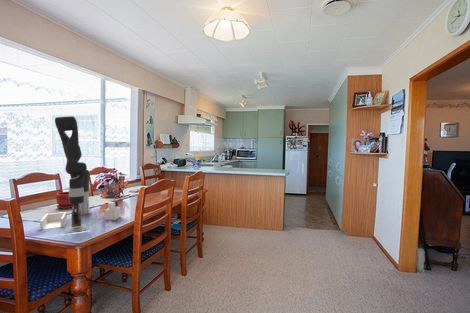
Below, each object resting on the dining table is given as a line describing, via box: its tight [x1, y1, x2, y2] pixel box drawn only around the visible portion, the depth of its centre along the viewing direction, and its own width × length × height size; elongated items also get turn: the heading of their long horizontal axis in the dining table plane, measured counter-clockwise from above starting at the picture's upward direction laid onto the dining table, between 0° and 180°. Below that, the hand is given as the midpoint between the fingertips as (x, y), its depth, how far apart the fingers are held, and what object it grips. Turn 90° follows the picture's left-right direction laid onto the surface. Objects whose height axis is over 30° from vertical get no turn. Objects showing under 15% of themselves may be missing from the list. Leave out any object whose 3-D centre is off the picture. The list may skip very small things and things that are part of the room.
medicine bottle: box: [104, 200, 121, 221], centre depth 161 cm, size 7×7×12 cm
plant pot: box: [56, 191, 74, 209], centre depth 186 cm, size 13×13×12 cm
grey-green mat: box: [65, 223, 88, 234], centre depth 139 cm, size 10×10×1 cm
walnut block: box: [71, 209, 82, 227], centre depth 139 cm, size 4×4×9 cm
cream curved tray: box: [39, 211, 68, 230], centre depth 145 cm, size 12×16×6 cm
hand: (76, 222), depth 139 cm, fingers closed on walnut block, 4 cm apart
